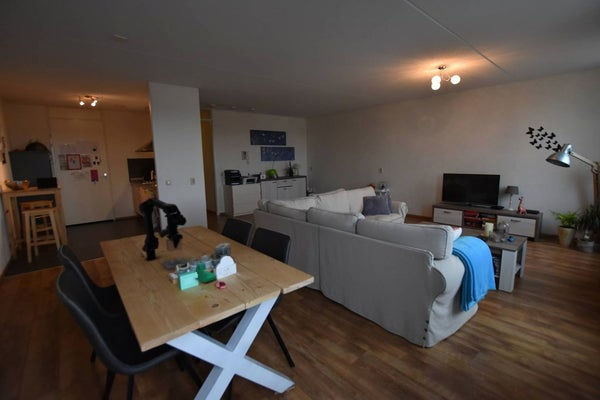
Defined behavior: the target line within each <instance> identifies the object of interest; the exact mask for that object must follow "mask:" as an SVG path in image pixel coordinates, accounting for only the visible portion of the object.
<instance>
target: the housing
mask: <svg viewBox="0 0 600 400" xmlns="http://www.w3.org/2000/svg"><path fill="white" fill-rule="evenodd" d="M182 243H183V242H182V239H180V241H179V243H178V246H177V248H174V244H173V241H172V240H170V239H169V238H167V239H165V244H166V251H168V252H169V253H170V252H171V253H172V252H176V251H180V250H183V245H182Z"/></svg>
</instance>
